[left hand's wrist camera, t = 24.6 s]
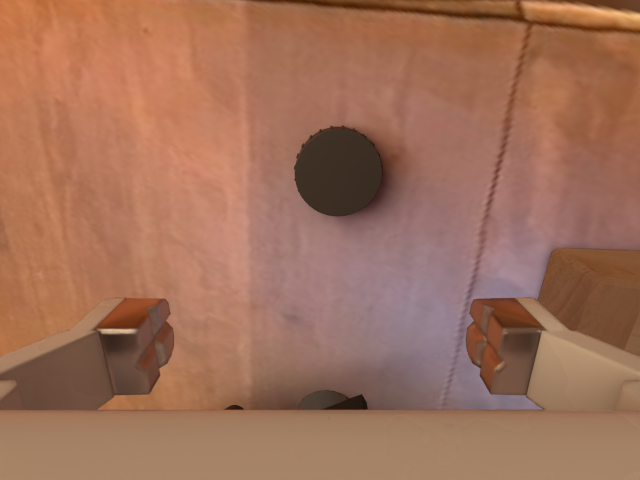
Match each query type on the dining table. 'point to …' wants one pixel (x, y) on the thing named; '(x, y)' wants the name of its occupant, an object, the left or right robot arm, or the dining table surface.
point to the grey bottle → (321, 400)
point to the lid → (338, 171)
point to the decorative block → (596, 294)
